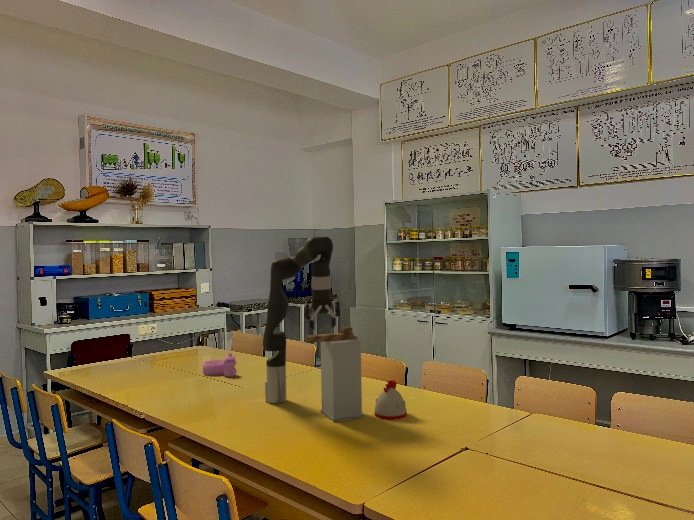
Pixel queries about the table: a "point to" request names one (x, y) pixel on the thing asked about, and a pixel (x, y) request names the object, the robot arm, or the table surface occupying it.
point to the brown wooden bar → (331, 336)
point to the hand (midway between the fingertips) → (322, 328)
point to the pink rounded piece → (220, 366)
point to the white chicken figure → (390, 403)
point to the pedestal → (341, 379)
